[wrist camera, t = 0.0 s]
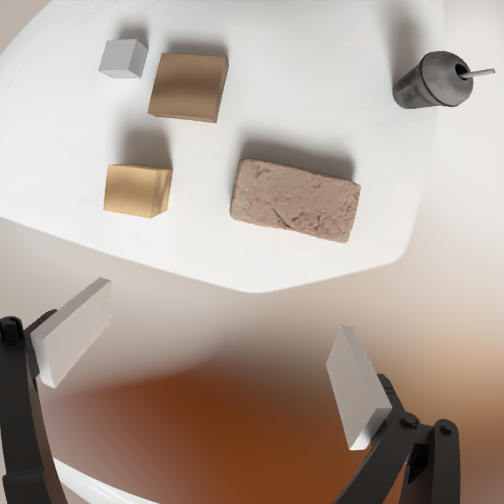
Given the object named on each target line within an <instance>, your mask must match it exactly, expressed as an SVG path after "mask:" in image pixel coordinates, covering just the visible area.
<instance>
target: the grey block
mask: <svg viewBox="0 0 504 504" xmlns="http://www.w3.org/2000/svg"><path fill="white" fill-rule="evenodd" d="M147 54H148V49H147V48H146V47H145V46H144V45H143V44H142V43H141V42H140V41H139V40H138V39H124V40H112V41H107V43H106V47H105V50H104V53H103V56H102V60H101V63H100V67H99V71H100V72H102V73H104V74H105V75H107V76H109V77H111V78H141V76H142V72H143V68H144V65H145V61H146V57H147Z"/></svg>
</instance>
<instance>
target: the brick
mask: <svg viewBox="0 0 504 504" xmlns="http://www.w3.org/2000/svg"><path fill="white" fill-rule="evenodd" d="M360 189H361V187H360V185H358V184H356V183H354V182H352V181H349V180H344V179H340V178H337V177H333V176H329V175H325V174H320V173H316V172H312V171H307V170H304V169H300V168H296V167H291V166H287V165H282V164H276V163H271V162H266V161H261V160H254V159H242V160H241V161H240V162H239V165H238V174H237V176H236V182H235V185H234V193H233V196H232V200H231V205H230V216H231V217H232V218H233V219H235V220H238V221H244V222H247V223H252V224H255V225H259V226H267V227H273V228H283V229H285V230H292V231H297V232H300V233H304V234H308V235H311V236H316V237H318V238H322V239H327V240H330V241H337V242H340V243H346V242H347V241H348V239H349V235H350V231H351V230H352V226H353V222H354V219H355V215H356V210H357V205H358V200H359V195H360Z"/></svg>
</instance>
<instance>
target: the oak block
mask: <svg viewBox="0 0 504 504" xmlns="http://www.w3.org/2000/svg"><path fill="white" fill-rule="evenodd" d="M172 173H173V170H171V169H164V168H157V167H149V166H141V165H133V164H116V165H108V170H107V179H106V188H105V197H104V209H103V210H106V211H111V212H117V213H123V214H129V215H134V216H140V217H146V218H152V217H154V216H156V215H158V214H160V213H162V212H165V211H167V207H168V200H169V193H170V186H171V179H172Z"/></svg>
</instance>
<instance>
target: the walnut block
mask: <svg viewBox="0 0 504 504" xmlns="http://www.w3.org/2000/svg"><path fill="white" fill-rule="evenodd" d="M228 67H229V65H228V62H227V59H226V57H219V56H208V55H194V54H171V53H162V55H161V59H160V63H159V66H158V70H157V74H156V78H155V82H154V86H153V91H152V95H151V99H150V104H149V109H148V113H149V114H151V115H154V116H156V117H166V118H177V119H186V120H195V121H203V122H211V123H216V122H217V117H218V112H219V108H220V103H221V98H222V94H223V89H224V85H225V80H226V76H227V71H228Z"/></svg>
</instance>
